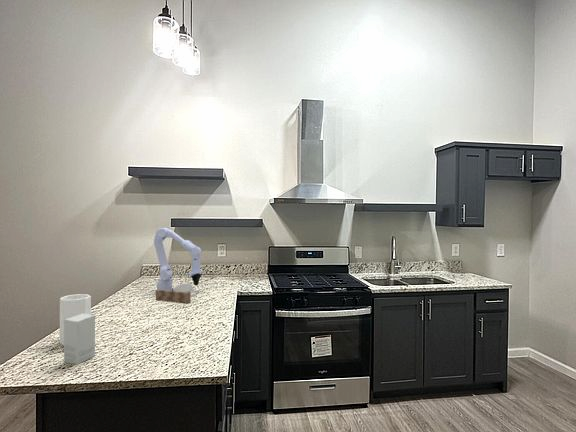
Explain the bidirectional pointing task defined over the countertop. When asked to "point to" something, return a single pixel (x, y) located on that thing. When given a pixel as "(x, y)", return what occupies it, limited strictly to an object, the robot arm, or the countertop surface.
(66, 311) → the cup
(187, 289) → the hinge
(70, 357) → the skincare box
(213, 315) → the countertop surface
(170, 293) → the walnut bracket
